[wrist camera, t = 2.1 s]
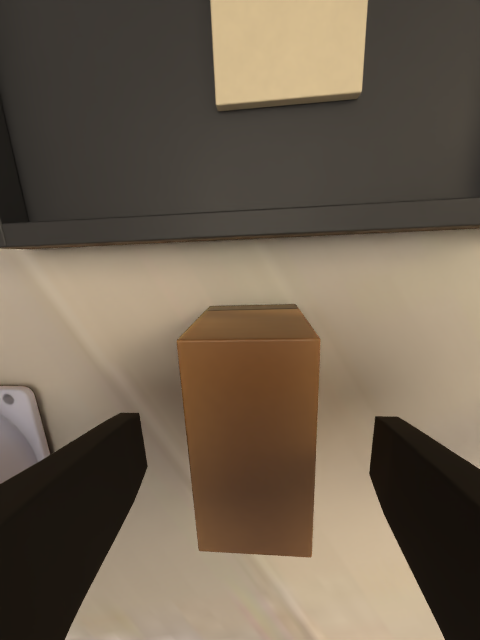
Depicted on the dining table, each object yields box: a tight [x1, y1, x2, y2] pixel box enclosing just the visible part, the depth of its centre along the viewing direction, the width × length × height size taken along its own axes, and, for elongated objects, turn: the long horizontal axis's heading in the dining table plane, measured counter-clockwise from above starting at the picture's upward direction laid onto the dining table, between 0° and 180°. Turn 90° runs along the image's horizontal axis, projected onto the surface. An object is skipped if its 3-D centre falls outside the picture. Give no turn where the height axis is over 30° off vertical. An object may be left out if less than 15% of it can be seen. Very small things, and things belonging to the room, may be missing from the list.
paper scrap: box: [210, 0, 368, 111], centre depth 8 cm, size 4×4×1 cm
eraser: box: [177, 304, 320, 557], centre depth 9 cm, size 4×7×4 cm, turn 2°
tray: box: [0, 0, 480, 249], centre depth 8 cm, size 19×13×2 cm
